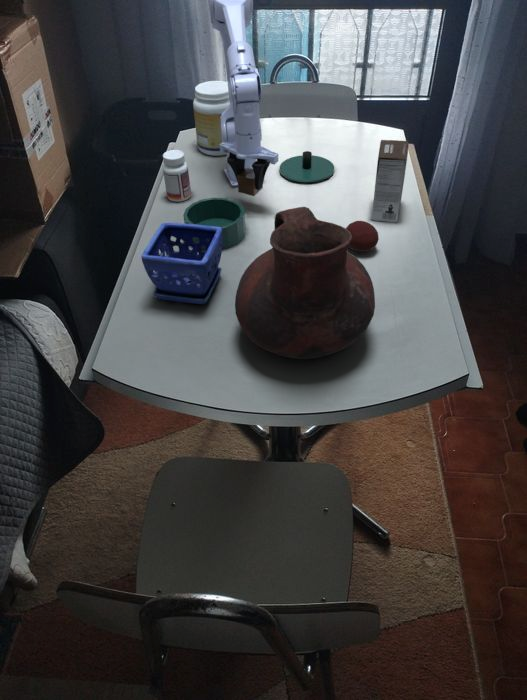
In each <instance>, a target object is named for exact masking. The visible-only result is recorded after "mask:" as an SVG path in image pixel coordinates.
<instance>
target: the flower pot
mask: <svg viewBox="0 0 527 700" xmlns="http://www.w3.org/2000/svg"><path fill="white" fill-rule="evenodd" d="M172 237H173V238H175V241H174V240H172ZM193 237H198V238H199V242H198V243H196V242H194V241H193ZM207 239H209V240H207ZM182 241H183V242H182ZM222 245H223V231H222V228H221V227H214V226H206V225H196V224H185V223H184V222H183V223H181V222H162V223H161V224H160V225H159V226H158V228H157V229H156V231H155V232H154V234H153V235H152V237H151V238H150V241H149V242H148V243H147V246H146V247H145V249H143V252H142V254H141V263H142V265H143V267H144V270H145V272H146V274H147V276H148V278H149V280H150V281H151V282H152V284H153V285H154V286H155V289H154V291H153V294H152V295H153V296H154V297H155V298H156V299H159V300H162V301H163V300H164V301H173V302H180V303H185V304H186V303H188V304H196V305H205V304H206V303H207V302H208V300H209V299H210V296H211V295H212V292H213V290H214V289H215V286H216V284H217V282H218V280H219V277H220V275H221V273H222V267H220V262H221V258H222V257H221V256H222V252H223V249H222ZM201 246H205V247H206V250H204V249H202V248H201ZM174 247H178V250H177V251H176V250H174ZM190 247H191V248H192V249H189V248H190Z"/></svg>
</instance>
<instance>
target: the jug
mask: <svg viewBox="0 0 527 700" xmlns="http://www.w3.org/2000/svg"><path fill="white" fill-rule="evenodd" d="M351 239H352V235H351V233H350V231H348V230H347V229H346V228H345V227H343V226H341V225H339V224H337V223H334V222H329V221H325V220H324V221H323V220H320V219H317V217H316V216H315V214H314V213H313V212H312V210H311V209H310V208H309V207H307V206H298V207H294V208H293V207H292V208H288V209H284V210H280V211H278V212H276V214H275V215H274V229H273V230H272V232H271V234H270V237H269V244H270V246H271V247H272V248H270V249H268V250H266V251H264V252H263V253H261V254H260V255H258V256H257V257H256V258H255V259H254V260H253V261H252V262H251V263H250V264H249V265H248V266H247V267H246V269H245V270H244V271H243V273H242V275H241V276H240V277H241V278H240V279H239V282H238V285H237V289H236V293H235V301H234V308H235V316H236V318H237V321H238V324H239V327H240V328H241V329H242V331H243V333H244V334H245V336H247V338H248V339H250V341H251V342H253V344H255V345H257V346H258V347H259V348H261V349H263V350H265V351H267V352H269V353H272V354H275V355H278V356H281V357H286V358H290V359H294V360H295V359H296V360H297V359H298V360H310V359H318V358H322V357H326V356H328V355H332V354H335V353H338V352H340V351H342V350H344V349H346V348H348V347H349V346H351V345H352V344H353V343H355V342H357V340H358V339H359V338H361V337H362V336H363V334H364V333H365V332H366V330H367V329H368V327H369V325H370V323H371V322H372V319H373V317H374V315H375V309H376V296H375V288H374V283H373V280H372V278H371V276H370V274H369V272H368V270H367V269H366V267H365V265H364V264H363V262H362V261H360V260H359V259H358V258H357V257H356V256H354V255H353V253H350V252H348V251H349V245H350V242H351Z"/></svg>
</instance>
